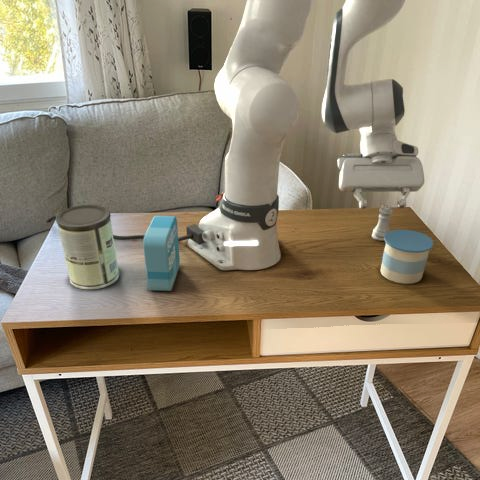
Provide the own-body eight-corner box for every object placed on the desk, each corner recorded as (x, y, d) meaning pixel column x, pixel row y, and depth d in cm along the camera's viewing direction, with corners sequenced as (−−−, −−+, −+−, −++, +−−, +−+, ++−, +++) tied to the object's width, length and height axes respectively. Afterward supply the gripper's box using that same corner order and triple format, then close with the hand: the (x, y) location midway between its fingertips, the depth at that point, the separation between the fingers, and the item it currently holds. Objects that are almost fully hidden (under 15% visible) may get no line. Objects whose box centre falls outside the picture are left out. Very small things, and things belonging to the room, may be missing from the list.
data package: (170, 294, 101) (166, 240, 94) (148, 293, 101) (142, 239, 94) (180, 264, 110) (176, 213, 103) (159, 263, 110) (155, 213, 103)
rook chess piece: (368, 238, 122) (373, 207, 117) (375, 232, 125) (381, 201, 120) (385, 243, 120) (392, 212, 115) (392, 236, 123) (399, 206, 118)
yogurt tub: (369, 273, 108) (375, 240, 104) (392, 257, 114) (399, 225, 109) (411, 290, 103) (419, 255, 98) (432, 272, 109) (441, 239, 104)
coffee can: (71, 267, 109) (58, 205, 101) (119, 263, 110) (111, 203, 102) (66, 292, 101) (52, 227, 92) (118, 288, 102) (109, 224, 94)
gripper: (340, 147, 119) (343, 202, 117) (424, 147, 120) (429, 202, 118) (334, 160, 125) (337, 212, 123) (414, 159, 126) (418, 212, 124)
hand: (382, 207), depth 120 cm, fingers open, 8 cm apart
